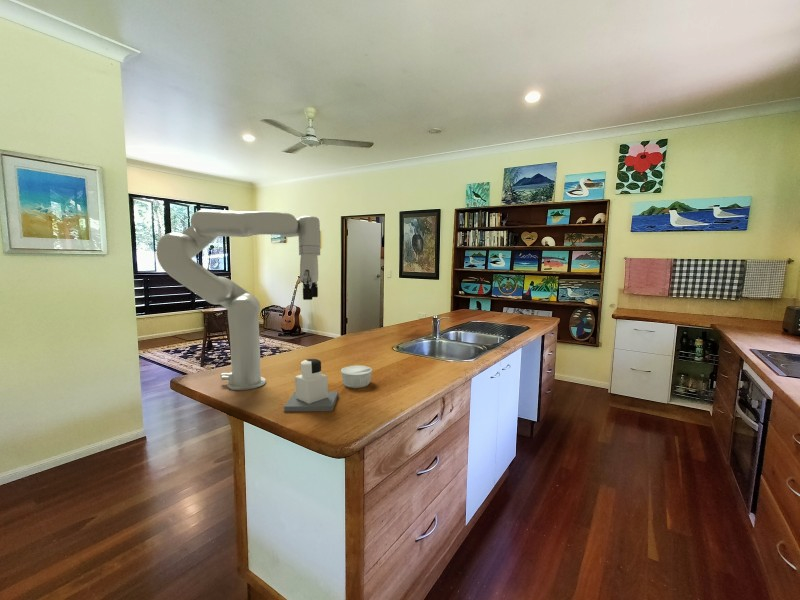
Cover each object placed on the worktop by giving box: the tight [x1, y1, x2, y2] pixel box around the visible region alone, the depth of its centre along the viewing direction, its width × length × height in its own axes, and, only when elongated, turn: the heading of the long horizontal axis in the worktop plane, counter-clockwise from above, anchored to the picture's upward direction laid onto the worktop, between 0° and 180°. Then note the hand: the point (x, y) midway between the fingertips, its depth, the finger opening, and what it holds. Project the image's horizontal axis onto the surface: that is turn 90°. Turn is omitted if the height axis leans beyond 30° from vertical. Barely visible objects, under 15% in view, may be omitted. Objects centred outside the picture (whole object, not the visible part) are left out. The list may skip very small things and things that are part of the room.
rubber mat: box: [283, 390, 339, 413], centre depth 110 cm, size 14×12×2 cm
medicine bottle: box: [294, 358, 329, 404], centre depth 110 cm, size 7×7×12 cm
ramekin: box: [340, 364, 373, 389], centre depth 128 cm, size 11×11×5 cm
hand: (310, 298), depth 131 cm, fingers open, 9 cm apart
